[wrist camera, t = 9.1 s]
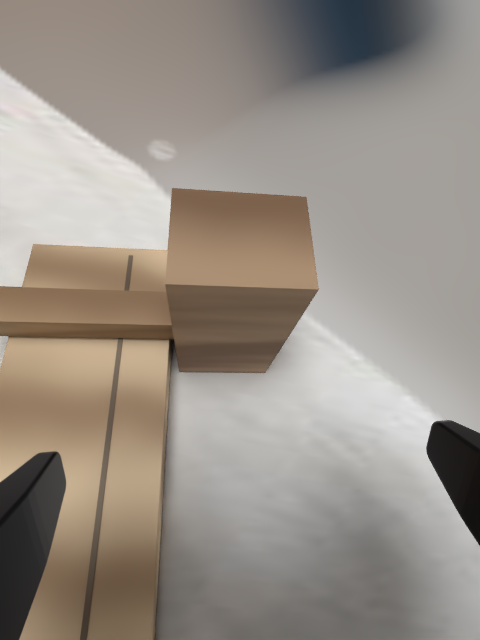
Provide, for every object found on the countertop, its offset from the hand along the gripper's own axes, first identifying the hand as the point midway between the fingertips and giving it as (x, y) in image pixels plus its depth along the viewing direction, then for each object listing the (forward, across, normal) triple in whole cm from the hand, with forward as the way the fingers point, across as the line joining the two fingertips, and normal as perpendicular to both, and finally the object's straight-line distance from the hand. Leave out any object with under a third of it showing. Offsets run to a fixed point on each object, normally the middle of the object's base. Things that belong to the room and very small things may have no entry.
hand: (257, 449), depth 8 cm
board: (+9, +7, +6) cm, 13 cm away
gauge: (+13, +4, +3) cm, 14 cm away
